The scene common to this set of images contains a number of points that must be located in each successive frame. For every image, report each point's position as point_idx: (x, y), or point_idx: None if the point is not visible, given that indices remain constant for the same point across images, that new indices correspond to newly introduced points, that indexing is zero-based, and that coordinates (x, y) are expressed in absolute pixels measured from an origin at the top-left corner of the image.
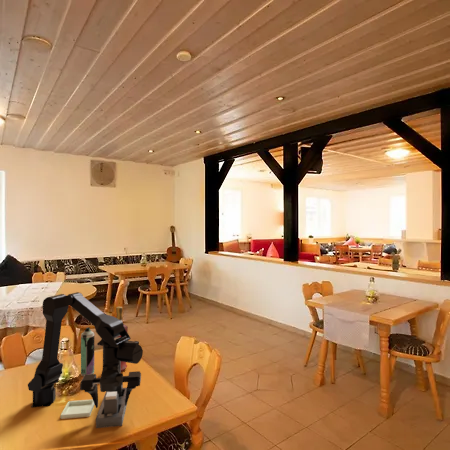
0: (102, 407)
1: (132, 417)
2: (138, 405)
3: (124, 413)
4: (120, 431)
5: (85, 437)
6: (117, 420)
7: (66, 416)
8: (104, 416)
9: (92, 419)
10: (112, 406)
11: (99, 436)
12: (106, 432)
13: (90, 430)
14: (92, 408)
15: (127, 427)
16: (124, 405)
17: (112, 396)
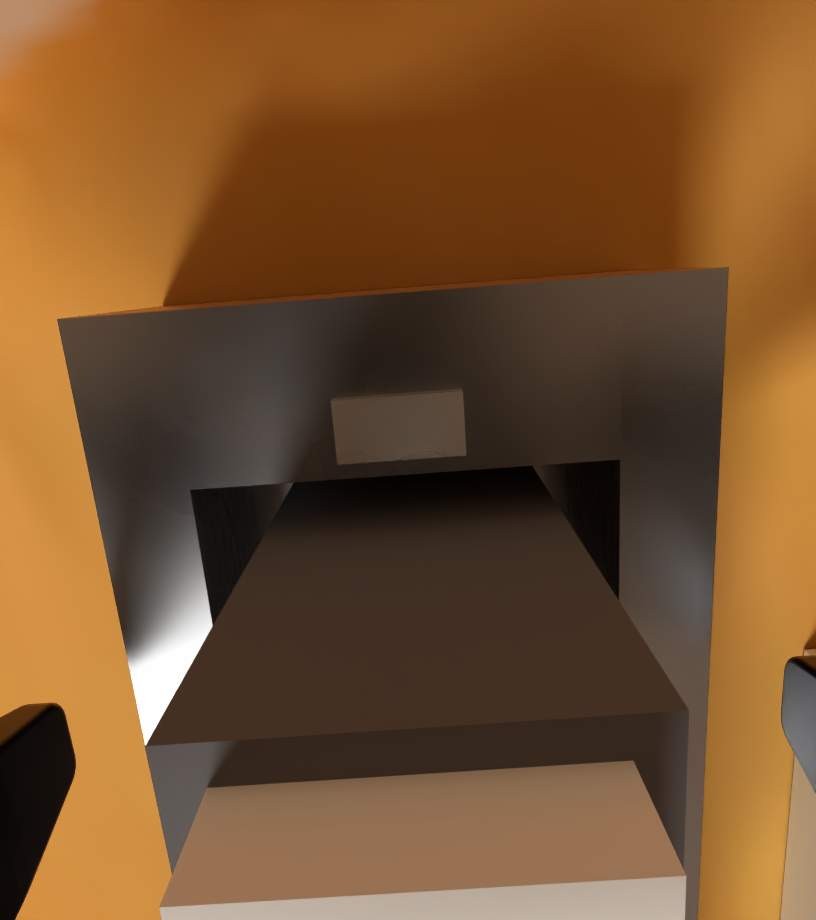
0: None
1: (69, 600)
2: (79, 915)
3: None
4: (152, 167)
5: (787, 14)
6: (204, 305)
7: None
8: (521, 351)
9: (748, 600)
10: (353, 602)
11: (518, 24)
12: (413, 157)
13: (728, 257)
14: (811, 866)
15: (59, 293)
16: None
17: (331, 890)
